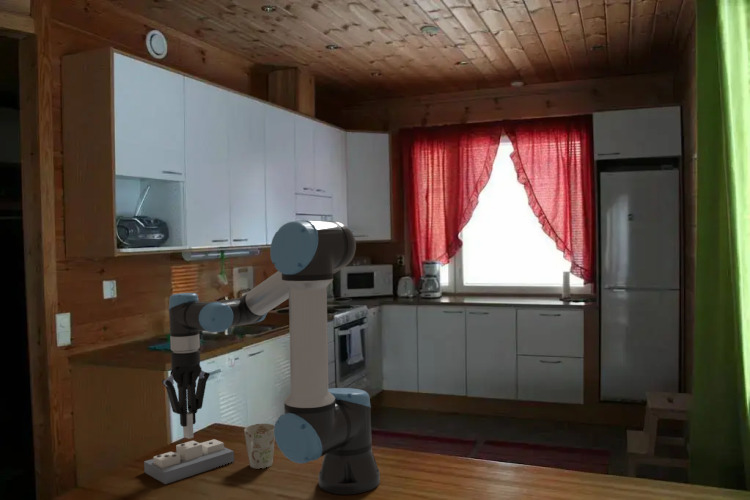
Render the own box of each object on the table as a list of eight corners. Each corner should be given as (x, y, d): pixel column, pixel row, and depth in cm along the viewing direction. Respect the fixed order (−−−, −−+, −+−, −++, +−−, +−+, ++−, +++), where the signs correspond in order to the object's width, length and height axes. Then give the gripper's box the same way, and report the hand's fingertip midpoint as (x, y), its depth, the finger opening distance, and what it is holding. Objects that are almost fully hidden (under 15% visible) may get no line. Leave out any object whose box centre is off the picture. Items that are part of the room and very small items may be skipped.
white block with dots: (180, 470, 161) (180, 454, 161) (162, 475, 157) (161, 460, 157) (171, 465, 164) (171, 450, 164) (153, 470, 161) (153, 455, 161)
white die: (202, 458, 165) (202, 443, 165) (185, 463, 162) (185, 448, 162) (193, 454, 169) (193, 439, 169) (176, 459, 165) (176, 444, 165)
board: (234, 461, 168) (233, 451, 168) (165, 484, 154) (164, 472, 154) (211, 452, 177) (211, 441, 177) (144, 472, 163) (144, 461, 163)
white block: (224, 456, 170) (223, 442, 170) (208, 461, 166) (207, 446, 166) (214, 452, 174) (214, 438, 173) (198, 457, 170) (198, 443, 170)
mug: (280, 459, 169) (278, 423, 169) (267, 477, 157) (266, 438, 156) (250, 459, 170) (249, 423, 170) (236, 476, 157) (234, 438, 157)
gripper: (200, 345, 172) (203, 428, 173) (155, 352, 163) (159, 440, 163) (214, 348, 167) (217, 434, 167) (169, 355, 158) (172, 446, 158)
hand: (188, 437), depth 165 cm, fingers closed
